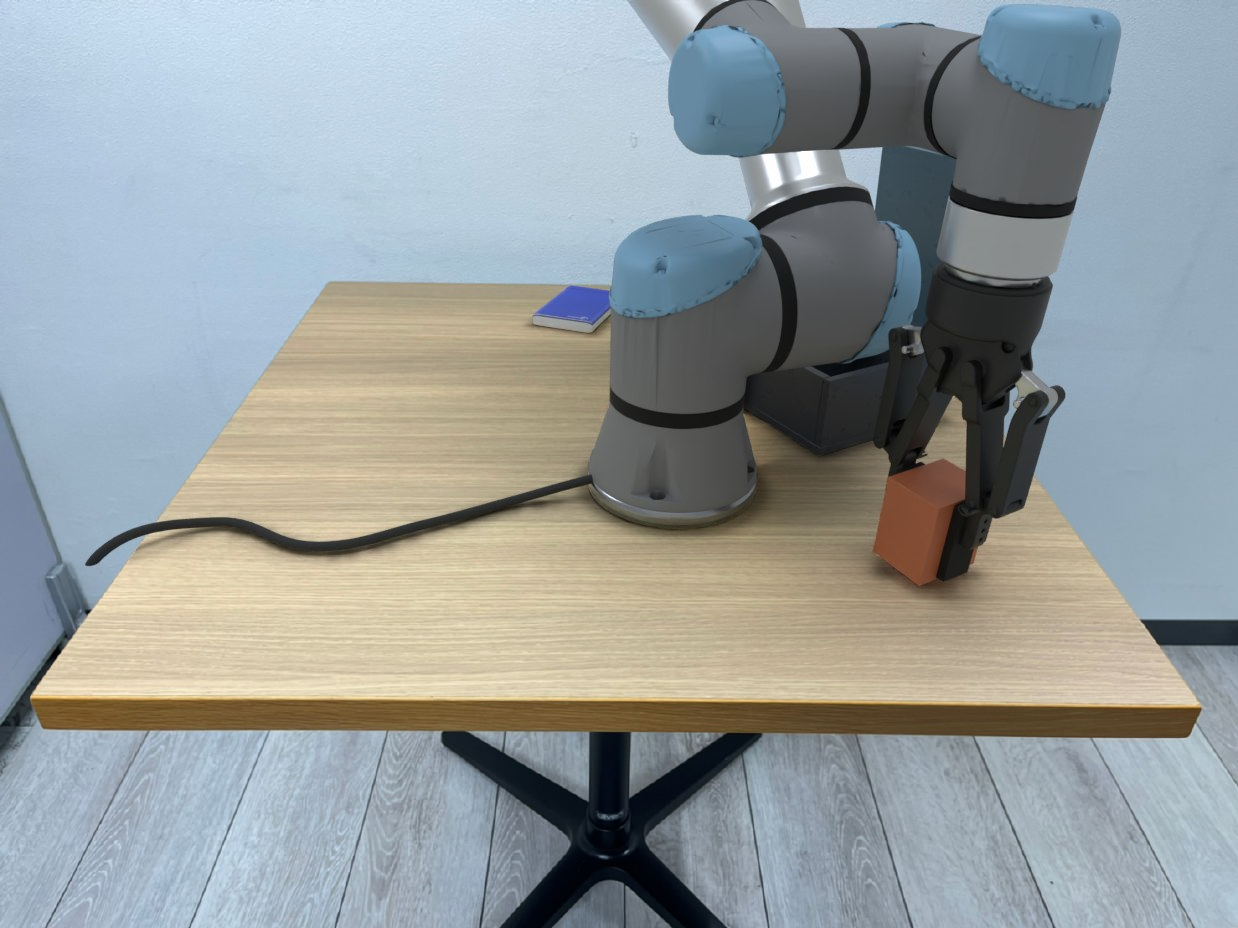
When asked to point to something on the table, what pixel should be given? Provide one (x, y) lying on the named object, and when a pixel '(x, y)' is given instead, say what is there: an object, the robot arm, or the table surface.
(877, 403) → the black box
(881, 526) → the reddish-orange cube block
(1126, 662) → the table surface
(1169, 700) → the table surface
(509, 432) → the table surface
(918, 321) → the box lid
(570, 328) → the blue book
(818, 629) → the table surface
